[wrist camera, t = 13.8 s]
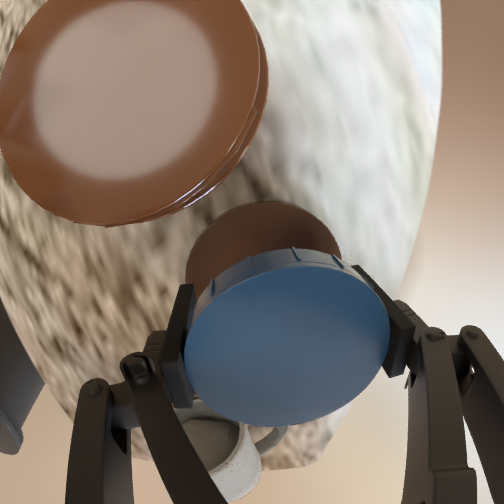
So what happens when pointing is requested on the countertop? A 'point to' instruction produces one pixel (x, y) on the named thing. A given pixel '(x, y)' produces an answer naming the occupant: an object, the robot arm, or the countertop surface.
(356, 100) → the countertop surface
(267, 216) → the coaster
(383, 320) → the jar lid
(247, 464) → the ceramic mug
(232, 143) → the jam jar
